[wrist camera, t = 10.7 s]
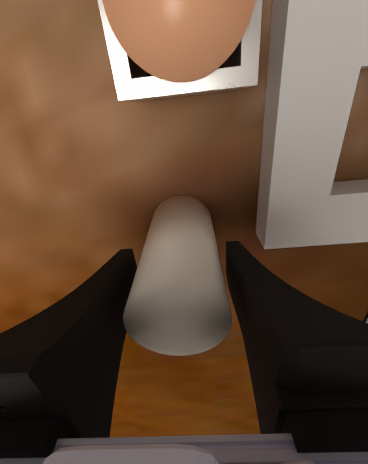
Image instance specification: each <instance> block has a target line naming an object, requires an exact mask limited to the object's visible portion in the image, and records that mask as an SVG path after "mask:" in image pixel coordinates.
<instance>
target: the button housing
mask: <svg viewBox="0 0 368 464" xmlns="http://www.w3.org/2000/svg"><path fill="white" fill-rule="evenodd" d="M98 5H99V9H100V14H101V19H102V24H103V29H104V33H105V38H106V43H107V48H108V53H109V57H110V62H111V67H112V72H113V77H114V81H115V86H116V91H117V96H118V101H138V102H140V101H148V100H157V99H166V98H175V97H184V96H193V95H202V94H211V93H220V92H228V91H237V90H240V89H244V88H248V87H252V86H255V85H258V69H259V51H260V33H261V16H262V0H256V2H255V6H254V10H253V13H252V17H251V19H250V22H249V24H248V27H247V29H246V31H245V33H244V35H243V37H242V39H241V41H240V43H239V44H238V46H237V47H236V49H235V50H234V51H233V53H232V54H231V55H230V56H229V57H228V59H227V60H226V61H225V62H224V68H220V69H216V70H215V71H214V72H212V73H211V74H209V75H207V76H206V77H204V78H202V79H199V80H196V81H193V82H188V83H172V82H167V81H164V80H161V79H158V78H156V77H154V76H152V77H147V74H146V71H145V70H143V69H142V68H141V67H140V66H138V65H137V64H136V63H135V62H134V61H133V60H132V59H131V58H130V57H129V56H128V55H127V53H126V52H125V51H124V49H123V48H122V47H121V45H120V43H119V42H118V40H117V38H116V37H115V35H114V33H113V31H112V28H111V26H110V24H109V21H108V19H107V16H106V13H105V10H104V6H103V2H102V0H98Z"/></svg>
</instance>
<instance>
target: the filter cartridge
mask: <svg viewBox="0 0 368 464" xmlns="http://www.w3.org/2000/svg"><path fill="white" fill-rule="evenodd" d="M123 322H124V326H125V329H126V331H127V332H128V334H129V335H130V336H131V338H132V339H133V340H134V341H136V342H137V343H138V344H140V345H141V346H143V347H145V348H147V349H149V350H151V351H154V352H157V353H161V354H166V355H175V356H183V355H193V354H197V353H201V352H204V351H207V350H209V349H211V348H213V347H215V346H216V345H218V344H219V343H220V342H222V341H223V340H224V339H225V337H226V336H227V335H228V333H229V331H230V329H231V325H232V315H231V310H230V306H229V301H228V296H227V291H226V287H225V282H224V277H223V272H222V267H221V263H220V258H219V253H218V248H217V243H216V239H215V234H214V229H213V224H212V219H211V215H210V212H209V210H208V209H207V207H206V206H205V205H204V204H203V203H202V202H201V201H199V200H198V199H196V198H194V197H190V196H185V195H179V196H173V197H170V198H168V199H166V200H164V201H163V202H162V203H161V204H159V206H158V207H157V208H156V210H155V212H154V215H153V218H152V221H151V225H150V228H149V231H148V234H147V238H146V241H145V244H144V248H143V251H142V254H141V257H140V261H139V264H138V267H137V271H136V274H135V277H134V280H133V284H132V287H131V290H130V293H129V297H128V300H127V303H126V307H125V310H124V314H123Z"/></svg>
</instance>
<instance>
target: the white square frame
mask: <svg viewBox="0 0 368 464" xmlns="http://www.w3.org/2000/svg"><path fill="white" fill-rule="evenodd" d="M360 69H368V0H272V14H271V28H270V42H269V55H268V69H267V83H266V96H265V110H264V124H263V137H262V151H261V165H260V179H259V192H258V206H257V220H256V235H257V237H258V239H259V240H260V242H261V244H262V246H263V248H264V249H275V248H289V247H303V246H317V245H331V244H345V243H359V242H368V179H362V180H350V181H339V182H333V181H334V177H335V172H336V168H337V164H338V160H339V156H340V152H341V148H342V143H343V139H344V135H345V131H346V127H347V123H348V119H349V114H350V110H351V106H352V102H353V98H354V94H355V89H356V85H357V81H358V77H359V73H360Z"/></svg>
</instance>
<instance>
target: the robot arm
mask: <svg viewBox="0 0 368 464" xmlns="http://www.w3.org/2000/svg"><path fill="white" fill-rule="evenodd" d="M136 271H137V265H136V261H135V257H134V253H133V250H132V249H121V250H120V251H119V252H117V253H116V254H115V255H114V256H113V257H112V258H111V259H110V260H109V261H108V262H107V263H106V264H104V265H103V266H102V267H101V268H100V269H99V270H98V271H97V272H96V273H95V274H93V275H92V276H91V277H90V278H89V279H87V280H86V281H85V282H84V283H83V284H81V285H80V286H79V287H78V288H76V289H75V290H74V291H72V292H71V293H69V294H68V295H67V296H65V297H64V298H62V299H61V300H59V301H58V302H56V303H55V304H53V305H51V306H50V307H48V308H47V309H45V310H43V311H42V312H40V313H38V314H37V315H35V316H33V317H31V318H30V319H28V320H26V321H24V322H22V323H20V324H18V325H16V326H14V327H13V328H11V329H9V330H6V331H4V332H2V333H0V464H368V318H367V320H366V322H363V321H360V320H358V319H355V318H353V317H350V316H348V315H345V314H343V313H341V312H339V311H336V310H334V309H332V308H330V307H328V306H326V305H324V304H322V303H320V302H318V301H316V300H314V299H312V298H310V297H309V296H307V295H305V294H303V293H302V292H300V291H298V290H297V289H295V288H293V287H292V286H290V285H289V284H287V283H286V282H284V281H283V280H281V279H280V278H278V277H277V276H276V275H274V274H273V273H272V272H271V271H269V270H268V269H267V268H266V267H265V266H263V265H262V264H261V263H260V262H259V261H258V260H257V259H256V258H255V257H254V256H253V255H252V254H251V253H250V252H249V251H248V250H247V249H246V248H245V247H244V246H243V245H242V244H241V243H240V242H239V241H229V242H226V275H227V281H228V286H229V291H230V294H231V298H232V301H233V304H234V307H235V311H236V314H237V317H238V321H239V324H240V327H241V331H242V335H243V339H244V344H245V349H246V354H247V359H248V364H249V370H250V375H251V380H252V386H253V391H254V397H255V402H256V408H257V414H258V420H259V426H260V432H261V434H242V435H199V436H155V437H112V438H109V437H110V429H111V421H112V412H113V405H114V398H115V391H116V384H117V378H118V372H119V366H120V360H121V355H122V350H123V344H124V340H125V336H126V332H127V331H126V329H125V326H124V322H123V314H124V310H125V307H126V303H127V300H128V297H129V293H130V290H131V287H132V284H133V280H134V277H135V274H136Z"/></svg>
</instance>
